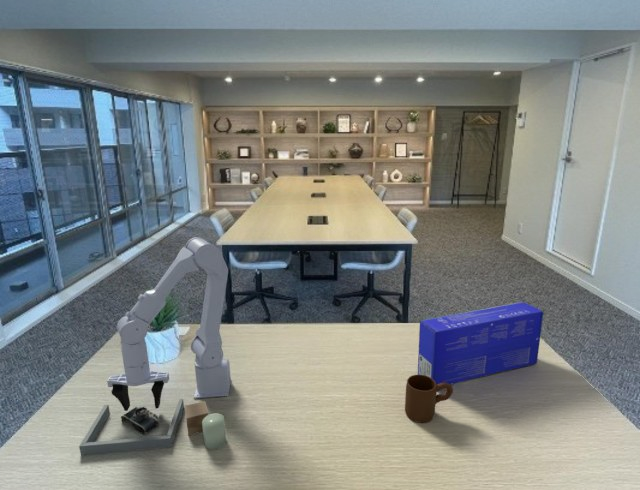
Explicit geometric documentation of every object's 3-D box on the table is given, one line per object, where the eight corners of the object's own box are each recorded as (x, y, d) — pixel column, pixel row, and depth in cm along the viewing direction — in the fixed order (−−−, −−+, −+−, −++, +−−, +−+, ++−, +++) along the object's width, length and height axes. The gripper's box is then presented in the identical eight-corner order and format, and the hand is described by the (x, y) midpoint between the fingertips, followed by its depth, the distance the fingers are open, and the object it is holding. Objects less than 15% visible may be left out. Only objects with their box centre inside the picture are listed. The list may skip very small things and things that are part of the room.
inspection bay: (184, 406, 108) (183, 398, 107) (171, 447, 94) (170, 438, 93) (105, 413, 106) (104, 405, 105) (80, 455, 92) (79, 446, 91)
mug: (446, 404, 108) (448, 373, 106) (455, 423, 101) (458, 391, 98) (401, 404, 108) (403, 374, 106) (408, 424, 101) (410, 392, 98)
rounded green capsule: (226, 433, 98) (225, 412, 97) (224, 448, 93) (222, 426, 92) (206, 435, 98) (203, 414, 96) (202, 450, 93) (200, 428, 91)
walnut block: (206, 417, 104) (205, 400, 103) (209, 430, 99) (207, 413, 98) (186, 422, 102) (184, 405, 101) (188, 435, 98) (186, 418, 96)
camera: (138, 410, 107) (136, 396, 106) (163, 425, 102) (161, 411, 100) (120, 421, 103) (118, 407, 102) (145, 437, 98) (143, 423, 96)
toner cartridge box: (516, 352, 134) (524, 301, 129) (537, 365, 126) (545, 311, 121) (415, 374, 122) (419, 318, 117) (431, 390, 115) (435, 331, 110)
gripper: (169, 351, 106) (174, 395, 109) (111, 354, 104) (119, 399, 108) (162, 365, 99) (168, 412, 103) (100, 370, 97) (109, 417, 101)
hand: (142, 407), depth 105 cm, fingers open, 7 cm apart
